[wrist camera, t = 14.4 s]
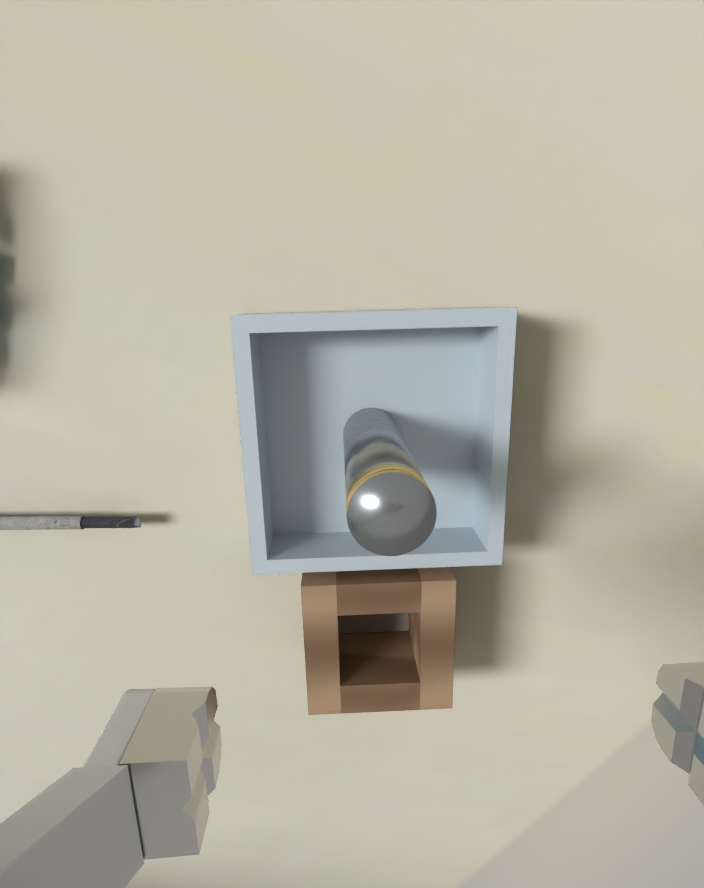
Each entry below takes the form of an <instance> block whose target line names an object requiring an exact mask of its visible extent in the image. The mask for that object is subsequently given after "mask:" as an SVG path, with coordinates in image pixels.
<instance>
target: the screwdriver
mask: <svg viewBox="0 0 704 888" xmlns="http://www.w3.org/2000/svg"><path fill="white" fill-rule="evenodd" d="M136 527H141V524H140V519H139V517H85V516H0V530H29V529H84V528H136Z"/></svg>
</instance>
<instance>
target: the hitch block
mask: <svg viewBox="0 0 704 888" xmlns="http://www.w3.org/2000/svg"><path fill="white" fill-rule="evenodd" d="M301 596H302V613H303V630H304V646H305V663H306V680H307V697H308V713H309V715H315V714H337V713H359V712H381V711H402V710H424V709H446V708H452V702H453V672H454V641H455V610H456V578H455V576H454V573H453V571H452V569H451V567H433V568H408V569H383V570H357V571H332V572H307V573H302V582H301ZM391 613H409V631H406V632H383V633H359V634H339V616H343V615H367V614H391Z"/></svg>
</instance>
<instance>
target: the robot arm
mask: <svg viewBox="0 0 704 888" xmlns="http://www.w3.org/2000/svg"><path fill="white" fill-rule="evenodd" d="M656 684H657V685H658V687H659V688H660V690H661V691H662V692H663V693H662V695H661V696H660V697H659V698H658V699H657V700H656V701H655V702H654V703H653V710H652V724H653V728H654V733H655V736H656V739H657V741H658V743H659V745H660V747H661V749H662V750H663V752H664V753H665V754H666V756H667V757H668V759H669V760H670V761H671V762H672V763H673V764H675V765H677V766H678V767H680V768H681V769H683V770H685V771H686V772H688V775H689V776H688V777H689V779H688V780H689V782H688V783H689V784H688V785H689V787H690V788H691V789H692V790H693V792H694V793H695V794H696V796H697V797H698V798H699V800H700V801H701V802H702V804H703V805H704V662H698V663H680V664H663V665H662V667H661V668H660V670H659V671H658V676H657V682H656ZM217 706H218V705H217V698H216V691H215V689H214V688H213V687H187V688H157V689H131V690H128V691H127V692H125V693H124V694H123V695H122V696H121V698H120V700H119V702H118V704H117V705H116V707H115V709H114V711H113V713H112V715H111V716H110V718H109V720H108V722H107V724H106V726H105V727H104V729H103V731H102V733H101V735H100V736H99V738H98V740H97V742H96V744H95V746H94V747H93V749H92V751H91V753H90V755H89V757H88V758H87V760H86V762H85V764H84V766H83V768H73V769H72V770H70V771H69V772H68V773H66V774H65V775H64V776H62V777H61V778H60V779H58V780H57V781H56V782H55V783H53V784H52V785H51V786H49V787H48V788H47V789H45V790H44V791H43V792H41V793H40V794H39V795H37V796H36V797H35V798H33V799H32V800H31V801H30V802H28V803H27V804H26V805H24V806H23V807H22V808H20V809H19V810H18V811H16V812H15V813H14V814H12V815H11V816H10V817H9V818H7V819H6V820H5V821H3V822H2V823H1V824H0V888H124V887H125V886H126V885H127V884H128V882H129V881H130V880H131V879H132V877H133V876H134V875H135V874H136V872H137V871H138V870H139V869H140V868H141V866H142V865H143V864H144V859H154V858H165V857H176V856H186V855H197V854H199V853H200V849H201V845H202V841H203V837H204V833H205V828H206V824H207V820H208V816H209V806H208V797H207V796H208V795H209V794H210V793H211V792H212V791H213V790H214V789H215V787H216V783H217V778H218V774H219V767H220V758H221V733H220V726H219V725H218V724H217V723H216V722H215V721H214V717H215V713H216V710H217Z"/></svg>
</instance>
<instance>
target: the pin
mask: <svg viewBox="0 0 704 888" xmlns="http://www.w3.org/2000/svg"><path fill="white" fill-rule="evenodd" d="M343 445H344V466H345V486H346V517H347V524H348V527H349V530H350V532H351V534H352V536H353V537H354V539H355V540H356V541H357V542H358V543H359V544H360V545H361V546H362V547H363V548H365V549H366V550H368V551H370V552H372V553H374V554H378V555H382V556H399V555H403V554H406V553H409V552H411V551H413V550H415V549H417V548H418V547H419V546H421V545H422V544H423V543H424V542H425V541H426V540H427V539H428V537H429V536H430V534H431V533H432V531H433V529H434V526H435V522H436V516H437V509H436V503H435V499H434V497H433V495H432V493H431V491H430V489H429V487H428V485H427V483H426V481H425V480H424V478H423V476H422V474H421V472H420V470H419V468H418V466H417V464H416V462H415V460H414V458H413V456H412V454H411V452H410V450H409V448H408V446H407V444H406V442H405V440H404V438H403V436H402V434H401V432H400V430H399V428H398V426H397V424H396V423H395V421H394V419H393V418H392V417H391V416H390V415H389V414H388V413H387V412H385V411H383V410H381V409H378V408H364V409H361V410H359V411H357V412H355V413H354V414H353V415H351V416H350V418H349V419H348V420H347V422H346V424H345V426H344V430H343Z"/></svg>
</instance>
